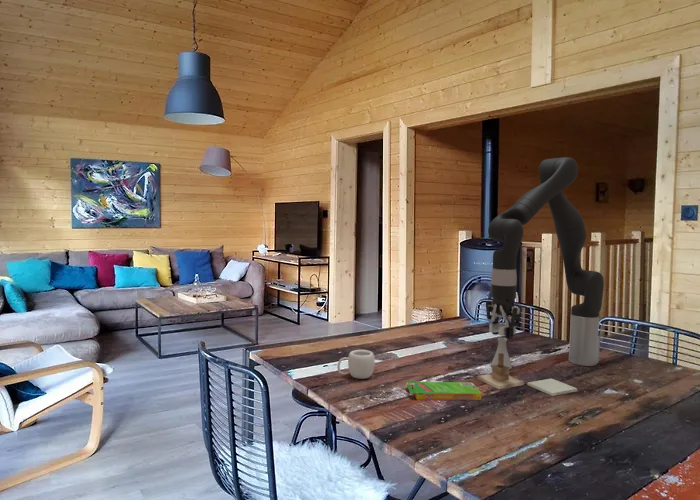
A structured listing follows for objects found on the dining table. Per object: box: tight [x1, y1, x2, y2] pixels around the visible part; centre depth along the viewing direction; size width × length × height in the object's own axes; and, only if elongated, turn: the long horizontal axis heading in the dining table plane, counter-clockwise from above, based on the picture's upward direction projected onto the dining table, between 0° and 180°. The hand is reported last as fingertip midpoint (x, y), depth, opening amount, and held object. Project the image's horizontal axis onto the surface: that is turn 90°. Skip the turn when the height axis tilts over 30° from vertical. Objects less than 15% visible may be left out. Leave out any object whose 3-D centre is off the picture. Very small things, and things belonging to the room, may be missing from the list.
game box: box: [405, 381, 482, 401], centre depth 149 cm, size 3×10×20 cm
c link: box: [488, 321, 517, 337], centre depth 158 cm, size 6×6×2 cm
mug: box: [336, 349, 376, 380], centre depth 163 cm, size 12×8×8 cm
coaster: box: [527, 378, 578, 397], centre depth 155 cm, size 10×10×1 cm
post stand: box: [476, 353, 525, 390], centre depth 159 cm, size 10×10×9 cm
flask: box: [490, 337, 513, 370], centre depth 175 cm, size 7×7×10 cm
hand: (502, 336), depth 159 cm, fingers closed on c link, 5 cm apart
